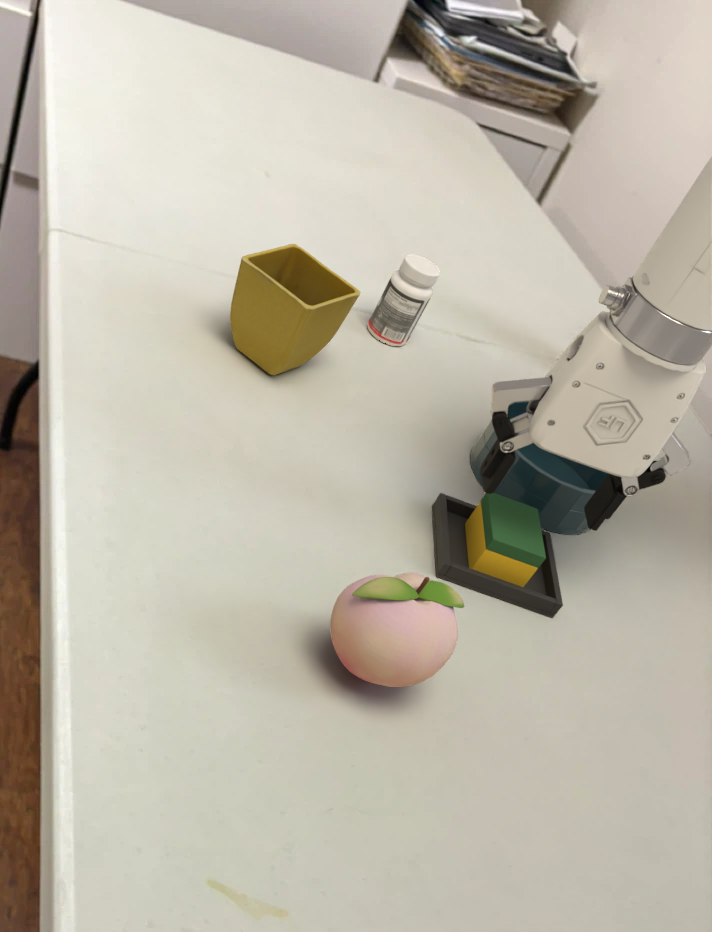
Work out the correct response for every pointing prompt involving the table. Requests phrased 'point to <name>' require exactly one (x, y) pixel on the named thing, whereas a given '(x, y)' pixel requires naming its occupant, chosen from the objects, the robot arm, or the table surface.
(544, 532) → the sponge tray
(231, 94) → the table surface
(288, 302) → the flower pot
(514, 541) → the sponge
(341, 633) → the decorative fruit
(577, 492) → the bowl
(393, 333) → the pill bottle
